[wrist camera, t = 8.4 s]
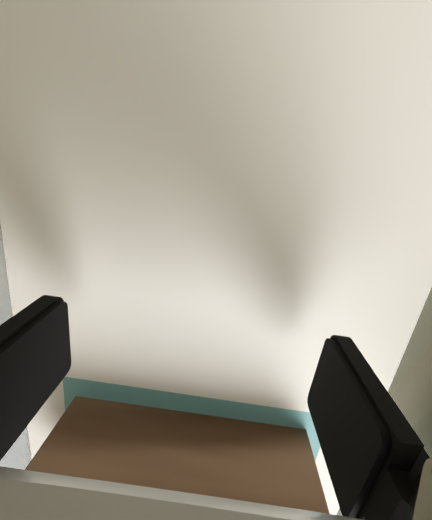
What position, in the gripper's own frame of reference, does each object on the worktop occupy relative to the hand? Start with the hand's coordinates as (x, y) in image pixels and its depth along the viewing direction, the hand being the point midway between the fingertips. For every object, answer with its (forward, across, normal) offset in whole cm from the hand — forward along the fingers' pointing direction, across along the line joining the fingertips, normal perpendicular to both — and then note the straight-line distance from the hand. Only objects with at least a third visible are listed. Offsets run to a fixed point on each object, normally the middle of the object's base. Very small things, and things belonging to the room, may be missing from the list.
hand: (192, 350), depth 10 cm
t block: (+2, 0, +12) cm, 12 cm away
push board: (+3, 0, +2) cm, 4 cm away
